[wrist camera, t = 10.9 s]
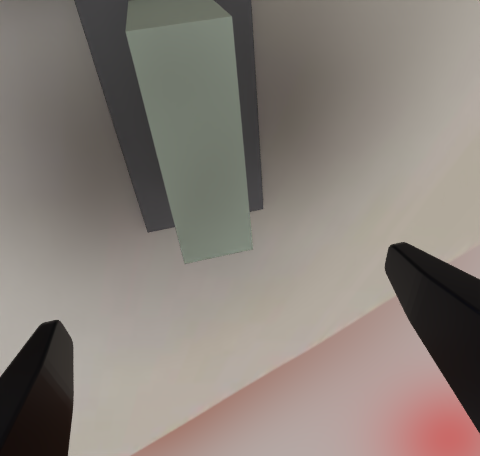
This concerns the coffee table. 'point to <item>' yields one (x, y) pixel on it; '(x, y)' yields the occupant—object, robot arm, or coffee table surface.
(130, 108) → the dark gray panel
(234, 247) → the sage rectangular block
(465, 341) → the robot arm
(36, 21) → the coffee table surface
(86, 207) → the coffee table surface
